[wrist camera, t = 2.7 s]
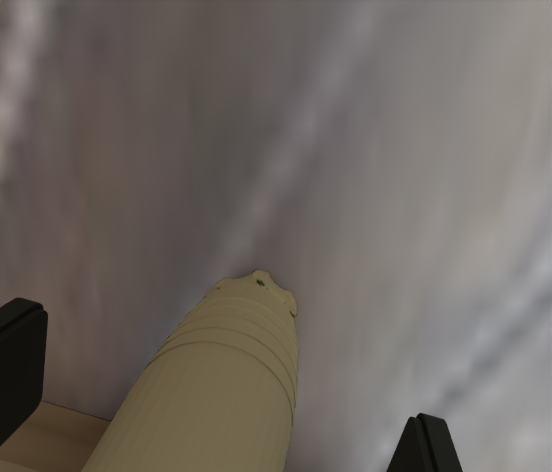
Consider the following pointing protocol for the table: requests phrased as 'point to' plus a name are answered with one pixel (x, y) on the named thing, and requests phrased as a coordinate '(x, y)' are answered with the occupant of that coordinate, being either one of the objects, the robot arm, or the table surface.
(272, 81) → the table surface
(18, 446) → the board
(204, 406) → the handle
